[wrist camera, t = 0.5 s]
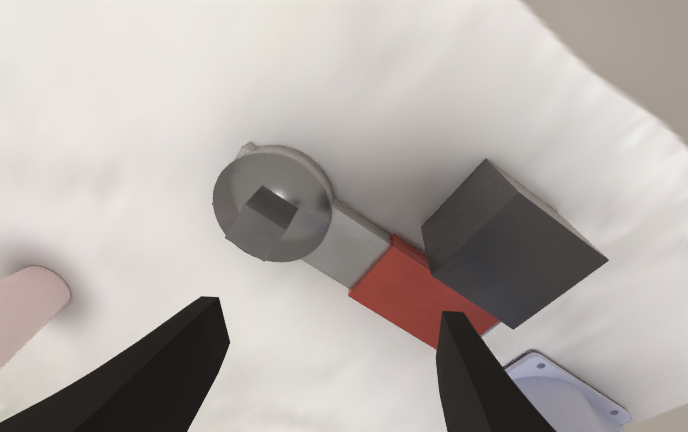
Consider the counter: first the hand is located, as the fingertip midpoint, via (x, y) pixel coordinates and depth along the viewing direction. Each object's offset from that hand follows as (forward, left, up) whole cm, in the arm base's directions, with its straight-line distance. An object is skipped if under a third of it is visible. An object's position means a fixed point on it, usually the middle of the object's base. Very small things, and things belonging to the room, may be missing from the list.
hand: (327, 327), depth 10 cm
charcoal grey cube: (-6, -4, -9) cm, 12 cm away
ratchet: (-2, +2, -9) cm, 10 cm away
